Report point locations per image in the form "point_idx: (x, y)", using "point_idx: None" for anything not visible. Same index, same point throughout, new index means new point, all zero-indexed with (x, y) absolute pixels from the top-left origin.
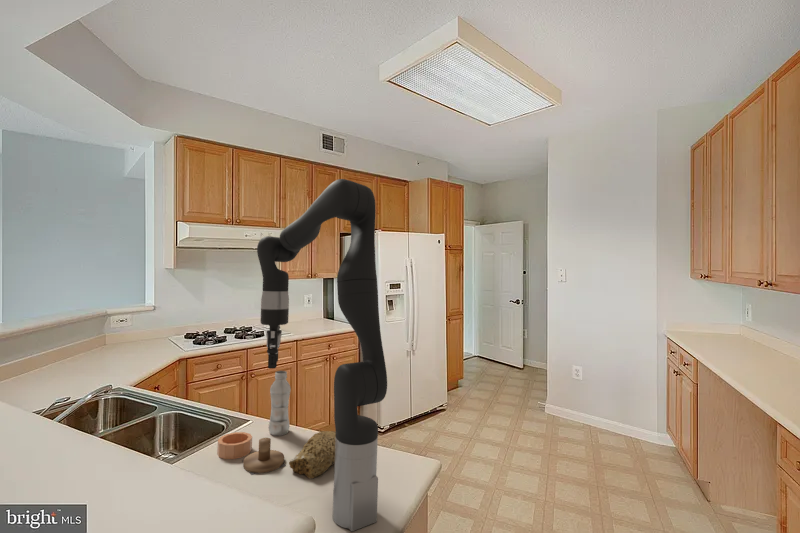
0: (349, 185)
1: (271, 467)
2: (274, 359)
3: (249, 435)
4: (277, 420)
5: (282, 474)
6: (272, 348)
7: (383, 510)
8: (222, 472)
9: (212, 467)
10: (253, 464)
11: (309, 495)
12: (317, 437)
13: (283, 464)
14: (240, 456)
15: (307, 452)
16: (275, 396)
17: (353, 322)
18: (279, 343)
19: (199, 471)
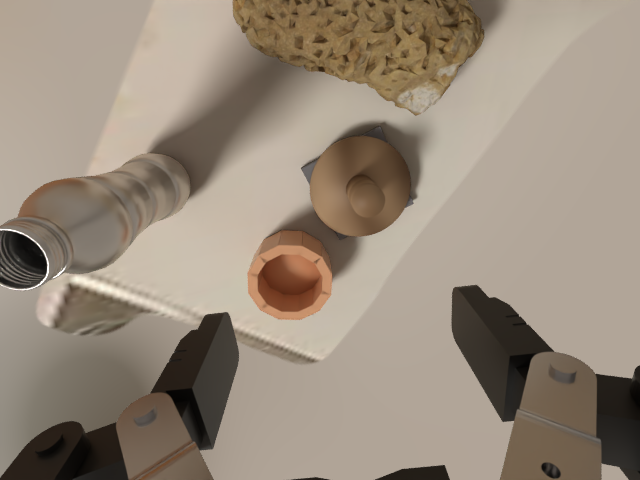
0: None
1: (404, 161)
2: (535, 337)
3: (270, 254)
4: (172, 195)
5: (405, 130)
6: (196, 443)
7: None
8: (376, 266)
9: (351, 291)
10: (389, 208)
11: (519, 45)
12: (336, 24)
13: (372, 134)
14: (323, 249)
15: (441, 54)
16: (135, 232)
17: None
18: (597, 451)
19: (366, 309)
